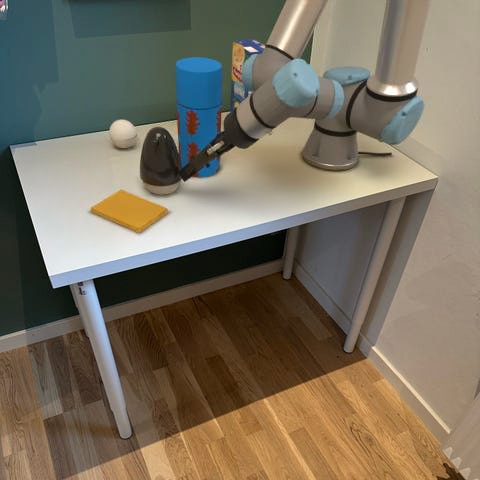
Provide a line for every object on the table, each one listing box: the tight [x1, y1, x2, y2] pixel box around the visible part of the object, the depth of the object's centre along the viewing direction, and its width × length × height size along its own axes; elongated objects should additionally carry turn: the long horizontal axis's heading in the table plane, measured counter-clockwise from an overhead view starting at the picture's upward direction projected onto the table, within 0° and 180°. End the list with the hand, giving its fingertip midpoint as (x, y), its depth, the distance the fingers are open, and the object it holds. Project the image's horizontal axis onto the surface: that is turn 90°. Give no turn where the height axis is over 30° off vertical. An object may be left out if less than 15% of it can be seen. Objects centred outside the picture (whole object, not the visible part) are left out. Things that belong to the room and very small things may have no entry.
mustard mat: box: [90, 189, 169, 234], centre depth 107 cm, size 14×10×1 cm
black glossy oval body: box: [139, 126, 183, 195], centre depth 110 cm, size 10×10×15 cm
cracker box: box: [229, 38, 266, 113], centre depth 137 cm, size 7×11×22 cm, turn 26°
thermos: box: [174, 56, 223, 178], centre depth 115 cm, size 11×11×25 cm
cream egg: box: [108, 119, 138, 149], centre depth 128 cm, size 10×7×7 cm
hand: (182, 175), depth 110 cm, fingers closed
